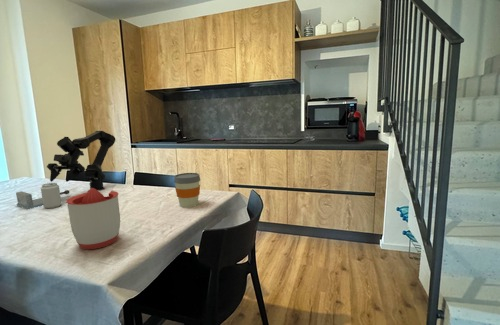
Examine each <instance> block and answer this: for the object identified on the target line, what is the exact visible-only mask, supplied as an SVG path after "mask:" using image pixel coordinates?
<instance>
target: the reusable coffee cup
mask: <svg viewBox="0 0 500 325" xmlns="http://www.w3.org/2000/svg"><path fill="white" fill-rule="evenodd" d="M200 181H201V176H200V173H197V172H183V173H178V174H175V175H174V180H173V182H174V183H175V184H174V185H175V194H176V197H177V198H178V203H179V206H180V207H181V208H193V207H195V206H198V205H199V196H200V191H201V184H200Z"/></svg>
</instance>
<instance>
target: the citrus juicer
mask: <svg viewBox="0 0 500 325" xmlns="http://www.w3.org/2000/svg"><path fill="white" fill-rule="evenodd" d="M119 202H120V201H119V192H118V191H116V190H115V191H114V190H111V191H109V192H108V195H107V196H104V194H103V193H101V192H100V191H99V190H96V189H94V188H91V189H90V188H89V190H88V191H87V192H84V193H80V194H76V195H74V196H71V197H68V198H67V199H66V201H65V203H67V210H68V216H69V223H70V228H71V232H72V234H73V237H74V239H75V242H76V243H77V245H78V246H79V248H81V249H84V250H96V249H102V248H101V247H103V248H106V247H107V246H109V245H112V244H113V243H115V242H116V241H117V240H118V236H119V234H120V228H121V214H120V203H119ZM105 246H106V247H105Z"/></svg>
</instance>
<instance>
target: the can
mask: <svg viewBox="0 0 500 325" xmlns="http://www.w3.org/2000/svg"><path fill="white" fill-rule="evenodd" d="M40 192H41V198H42V199H43V208H46V209H54V208H55V209H56V208H58V207H60V206H61V205H62V203H63V202H62V197H61V195H60V193H61V190H60V186H59V184H58V182H48V183H43V184H42V185H41V187H40Z"/></svg>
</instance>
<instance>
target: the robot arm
mask: <svg viewBox="0 0 500 325" xmlns="http://www.w3.org/2000/svg"><path fill="white" fill-rule="evenodd" d="M97 140H98V141H99V143H100V147H99V149H98V150H97V153H96V155H95V158H94V160H93V162H92V164H87V166H86V167H85V166H83V165H82V164H81V163H80V162H79V158H80V156H83V157H84V156H85V153H84V151H83V150H85V149H87V148H88V147H90V144H92V143H93V142H94V143H95V141H97ZM115 142H116V138H115V136H114V135H113V134H111V133H108V132H106V131H104V130H96V131H94V132H92V133H90V134H89V135H85V136H84V137H79V138H74V139H73V140H71V139H70V137H69V136H64V137H63V138H61V139H59V140H57V142H56V145H57V146H58V147H59V148H60V149H61V150H62V151H64V152H65V153H64V154H54V156H53V161H54V163H53V162H52V163H50V162H49V163H48V164H47V165H46V168H47V169H48V170H49V171H50V177H49V181H50V183H53V181H55V179H56V178H57V177H59V175H60V174H61V172H62V171H63V170H66V171H68V170H69V172H68V174H67V177H66V179H65V182H66V183H68V182H70V181H71V180H73V179H74V178H75V177H77V176H79V175H81V174H82V173H84V176H85V178H86V180H87V181H89V183H88V184H89V190H90V189H91V188H94V189H96V190H98V191H99V190H104V189H105V187H104V181H103V180H105V179H106V178H105V177H106V175H105V174H104V173H103V168H102V166H103V162H104V160H105V158H106V155H107V154H108V150H110V149H111V147H113V146H114V144H115ZM56 162H58V163H56ZM58 164H59V165H58Z"/></svg>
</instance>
